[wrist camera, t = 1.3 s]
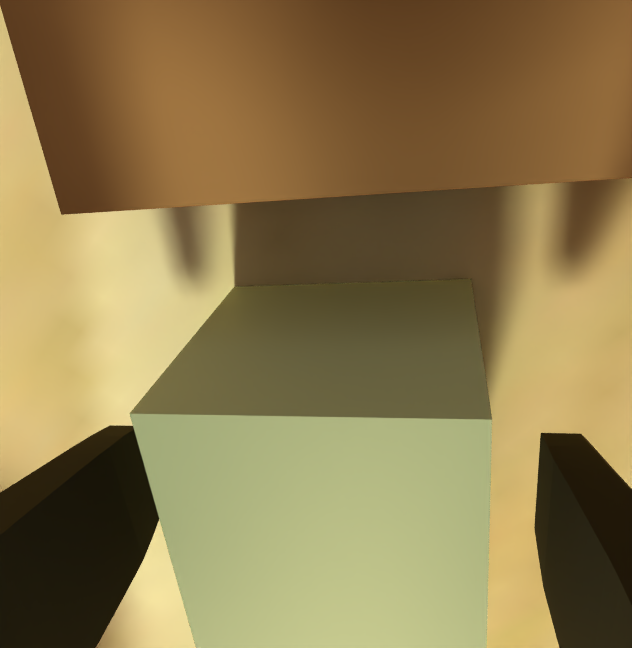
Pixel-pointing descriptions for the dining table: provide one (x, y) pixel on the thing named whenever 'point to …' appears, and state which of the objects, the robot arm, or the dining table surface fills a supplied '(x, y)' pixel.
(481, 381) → the cube
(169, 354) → the dining table surface
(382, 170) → the base block
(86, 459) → the robot arm
